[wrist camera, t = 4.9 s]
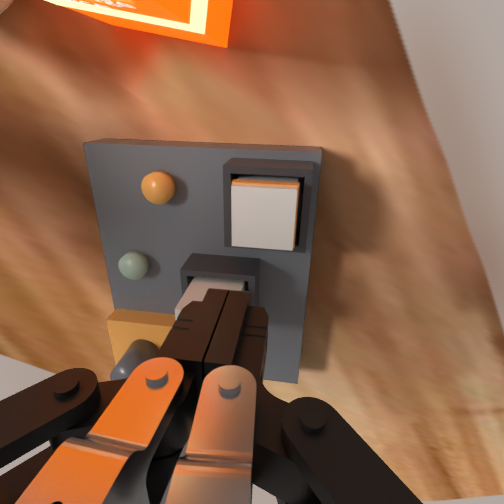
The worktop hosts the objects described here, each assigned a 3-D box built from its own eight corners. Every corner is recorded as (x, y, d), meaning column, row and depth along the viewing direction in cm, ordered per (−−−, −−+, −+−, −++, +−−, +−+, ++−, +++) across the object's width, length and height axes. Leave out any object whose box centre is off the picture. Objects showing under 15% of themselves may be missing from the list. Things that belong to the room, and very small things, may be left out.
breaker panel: (138, 342, 37) (109, 384, 32) (104, 138, 28) (55, 148, 22) (297, 361, 35) (296, 409, 30) (320, 146, 26) (324, 160, 20)
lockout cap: (126, 360, 34) (97, 402, 30) (116, 308, 32) (83, 345, 27) (187, 368, 34) (168, 412, 29) (182, 315, 31) (160, 355, 26)
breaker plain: (197, 317, 28) (179, 355, 24) (194, 276, 26) (174, 309, 22) (244, 322, 27) (233, 361, 23) (244, 280, 25) (233, 315, 21)
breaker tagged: (241, 223, 26) (230, 247, 22) (242, 169, 24) (229, 184, 20) (295, 227, 25) (294, 252, 21) (300, 172, 23) (299, 188, 19)
